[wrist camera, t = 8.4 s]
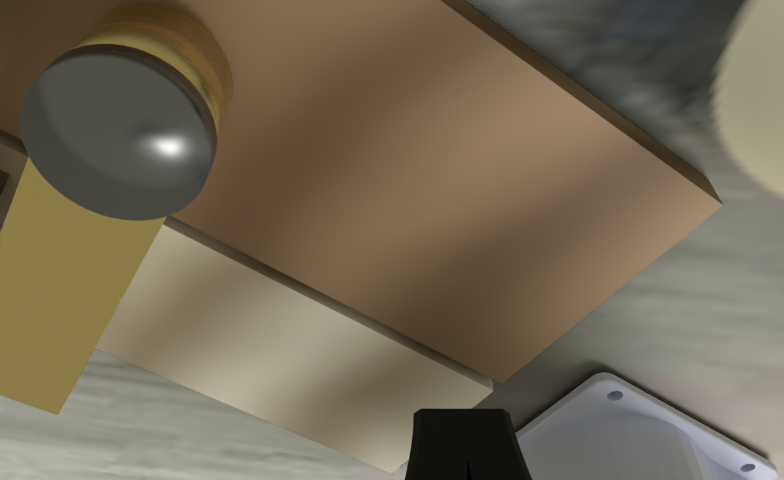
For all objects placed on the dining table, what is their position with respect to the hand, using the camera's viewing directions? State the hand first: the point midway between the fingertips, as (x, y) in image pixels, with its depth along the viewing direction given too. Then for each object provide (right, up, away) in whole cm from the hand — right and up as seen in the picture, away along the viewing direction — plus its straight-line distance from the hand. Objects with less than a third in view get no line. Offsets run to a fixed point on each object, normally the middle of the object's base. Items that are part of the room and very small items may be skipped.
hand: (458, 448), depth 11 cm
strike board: (-4, +4, +9) cm, 11 cm away
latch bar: (-9, +4, +7) cm, 12 cm away
